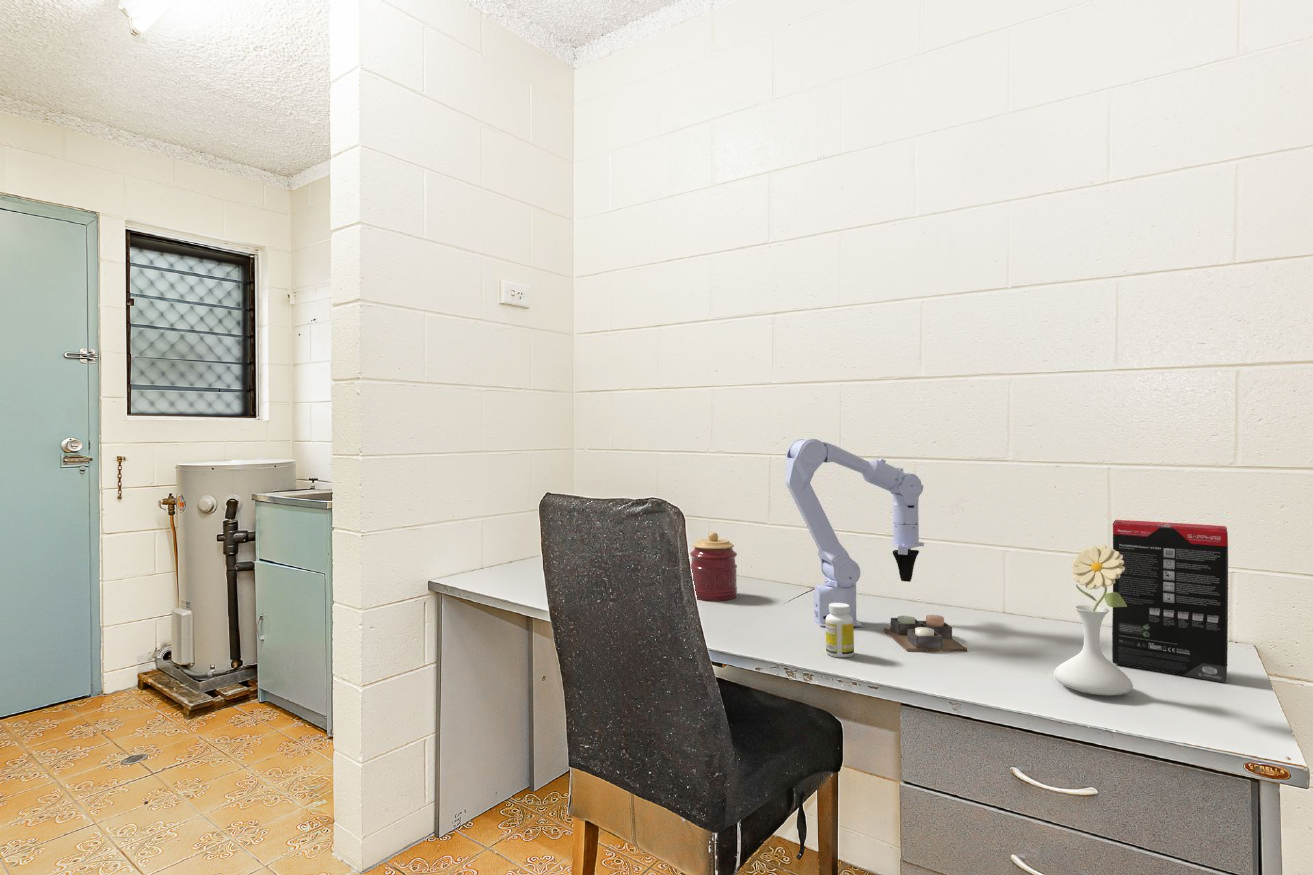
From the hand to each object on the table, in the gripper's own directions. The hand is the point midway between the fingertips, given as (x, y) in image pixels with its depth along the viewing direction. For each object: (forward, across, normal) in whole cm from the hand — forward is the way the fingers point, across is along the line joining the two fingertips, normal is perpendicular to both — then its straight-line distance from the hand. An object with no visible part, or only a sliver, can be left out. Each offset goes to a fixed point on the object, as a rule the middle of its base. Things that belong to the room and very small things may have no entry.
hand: (906, 581), depth 161 cm
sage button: (+8, -12, -1) cm, 15 cm away
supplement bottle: (+10, -33, +10) cm, 35 cm away
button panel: (+9, -16, -5) cm, 19 cm away
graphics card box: (+10, -17, -47) cm, 51 cm away
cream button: (+8, -21, -6) cm, 23 cm away
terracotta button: (+7, -12, -7) cm, 16 cm away
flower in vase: (+10, -36, -33) cm, 50 cm away
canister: (+10, +6, +51) cm, 52 cm away
